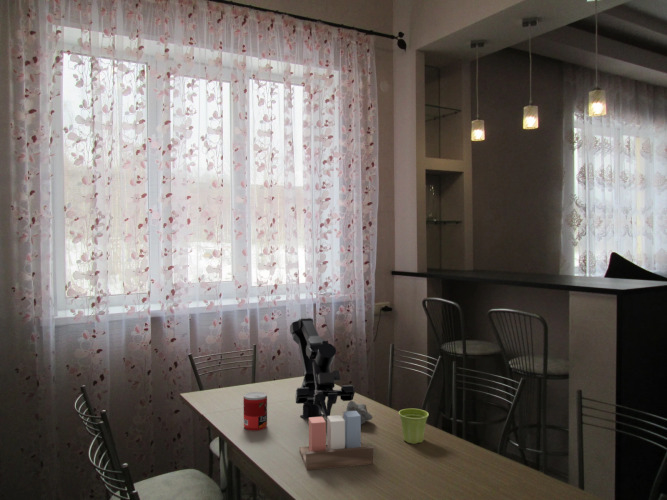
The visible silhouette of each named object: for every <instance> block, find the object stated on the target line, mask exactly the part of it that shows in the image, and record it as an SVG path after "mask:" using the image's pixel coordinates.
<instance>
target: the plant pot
mask: <svg viewBox="0 0 667 500" xmlns="http://www.w3.org/2000/svg"><path fill="white" fill-rule="evenodd" d="M398 415H399V419H400V422H401V429H402V437H403V441H405V442H406V443H408V444H413V445H414V444H418V443H419V444H421V443H423V442H424V439H425V438H424V437H425V431H426V430H425V429H426V423H427V420H428V417H429V412H428V411H426V410H423V409H420V408H404V409H400V410H399V411H398Z"/></svg>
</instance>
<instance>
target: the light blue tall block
mask: <svg viewBox="0 0 667 500" xmlns="http://www.w3.org/2000/svg"><path fill="white" fill-rule="evenodd" d="M342 413H343V416H342V418H343V419H344V420H345V447H346V448H355V447H361V442H362V440H361V439H362V437H361V436H362V435H361V433H362V430H361V429H362V427H361V426H362V424H361V416H360V415H359V413H358V412H357V411H342Z"/></svg>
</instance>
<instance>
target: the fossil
mask: <svg viewBox="0 0 667 500" xmlns="http://www.w3.org/2000/svg"><path fill="white" fill-rule="evenodd" d="M346 411H357V412H358V413H359V415H360V416H361V425H363V424H364V423H365V422H366V421H370V420H373V415H372V414H371V413H370V412H368V409H367V405H366V404H364V403H356V402H355V400H351V401H348V403H347V405H346ZM346 411H345V412H346Z"/></svg>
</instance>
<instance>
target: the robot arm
mask: <svg viewBox="0 0 667 500" xmlns="http://www.w3.org/2000/svg"><path fill="white" fill-rule="evenodd" d="M289 334H290V335H291V336H292V340H293V341H294V342H295V343H296V344H297V345H298V350H299V355H300V359H301V365H302V369H303V374H304V376H303V379H302V383H301V386H300V387H297V388H296V390H295V403H296V404H299V405H300V404H303V405H302V414H301V415H299V417H300V418H303V419H306V420H309V417H323V418H324V419H326V420H327V416H331V413H332V412H331V411H332V408H333V405H334V404H335V405H336V403H337V400H338V397H339V398H340V400H341V401H343V402H350V401H354V398H355V397H354V396H355V394H356V390H355V387H354V385H352V384H347V385H345V384H344V385H341V388H340V389H335V382H339V381H340V380H341V373H340V370H333V371H332V370H331V366H332V364H333V362H334V358H335V357H336V353H337V349H336V348H335V346H334V344H333V345H332V344H331V343H329V341H328V340H326V339H325V338H323V337H321V336H320V335H319V333H318V330H317V329H316V325H315V324H314V319H313V318H311V317H301V318H299V319H298V320H295V321H293V322H291V324H290V325H289ZM331 371H332V372H331ZM326 399H327V401H326Z"/></svg>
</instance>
